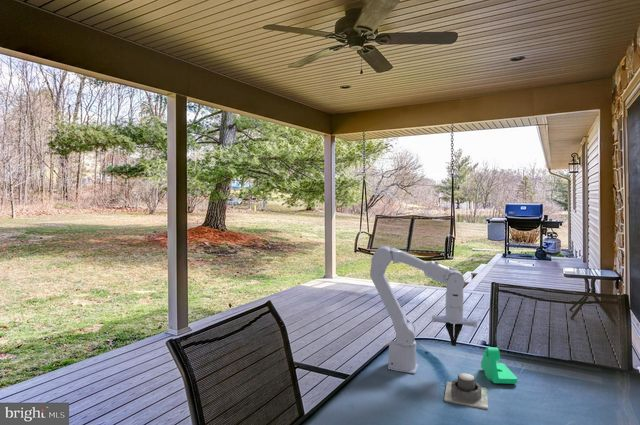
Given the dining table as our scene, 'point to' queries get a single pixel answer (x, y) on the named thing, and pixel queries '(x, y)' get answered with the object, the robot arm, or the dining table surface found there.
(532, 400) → the dining table surface
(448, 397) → the white square plate
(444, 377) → the dining table surface
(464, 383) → the gray cylindrical peg
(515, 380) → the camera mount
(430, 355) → the dining table surface
